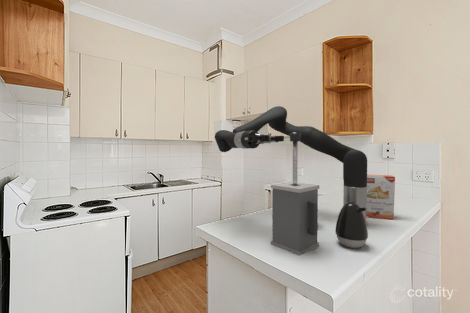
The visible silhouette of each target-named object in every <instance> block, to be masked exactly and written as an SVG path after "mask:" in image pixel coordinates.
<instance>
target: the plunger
mask: <svg viewBox="0 0 470 313" xmlns="http://www.w3.org/2000/svg"><path fill="white" fill-rule="evenodd" d="M300 141H301V132H291V133H290V136H289V142H292V182H293V186H297V182H298V156H299V155H298V152H299V151H298V147H299V146H298V144H299V143H298V142H300Z"/></svg>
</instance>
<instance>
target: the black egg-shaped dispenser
mask: <svg viewBox="0 0 470 313" xmlns="http://www.w3.org/2000/svg"><path fill="white" fill-rule="evenodd" d="M365 210H366V208H365V207H364V208H360V207H359V205H358V204H356V203H354V202H348V203H346V204H344V206H343V205H342V206H341V209H340V211H339V213H338V217H337V220H336V222H335V223H336V224H335V235H336V238H337V240H338V242H339V243H340V244H341V245H343V246H345V247H347V248H352V249H358V248H361V247H363V246H364V245H365V244H366V243H367V239H368V238H369V232H368V224H367V220H366V221H365V217H364V215H363V212H362V211H365Z"/></svg>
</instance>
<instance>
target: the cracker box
mask: <svg viewBox="0 0 470 313" xmlns="http://www.w3.org/2000/svg"><path fill="white" fill-rule="evenodd" d="M395 184H396V177H395V176H394V175H387V174H385V175H383V174H368V173H367V214H366V218H373V219H384V220H393V221H394V220H395V219H394V216H395V186H396V185H395Z"/></svg>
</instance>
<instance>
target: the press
mask: <svg viewBox="0 0 470 313" xmlns="http://www.w3.org/2000/svg"><path fill="white" fill-rule="evenodd" d="M270 189H272V217H271V218H272V221H271V222H272V227H271V228H272V229H271V230H272V239H271V241H270V245H273V246H275V247H277V248H279V249H282V250H285V251H287V252H289V253H292V254H294V255H296V256H301V255H303V254H305V253H308V252H309V251H312V250H313V249H315V248H317V247H319V246H320V242H318V216H319V215H318V213H319V212H318V211H319V210H318V203H319V202H318V201H319V200H318V199H319V198H318V197H319V191H318V190H319V189H320V185H319V184H313V183H306V182H299V181H297V186H293V181H288V182H287V181H285V182H281V183H275V184H270Z"/></svg>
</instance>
